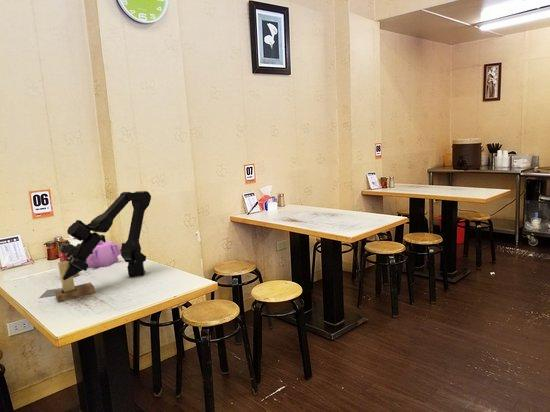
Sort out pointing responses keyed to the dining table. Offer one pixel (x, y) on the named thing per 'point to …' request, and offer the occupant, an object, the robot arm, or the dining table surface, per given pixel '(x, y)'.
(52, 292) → the mat
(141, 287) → the dining table surface
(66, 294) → the socket block
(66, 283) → the pin
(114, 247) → the teakettle
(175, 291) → the dining table surface
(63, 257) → the soda can
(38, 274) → the dining table surface
